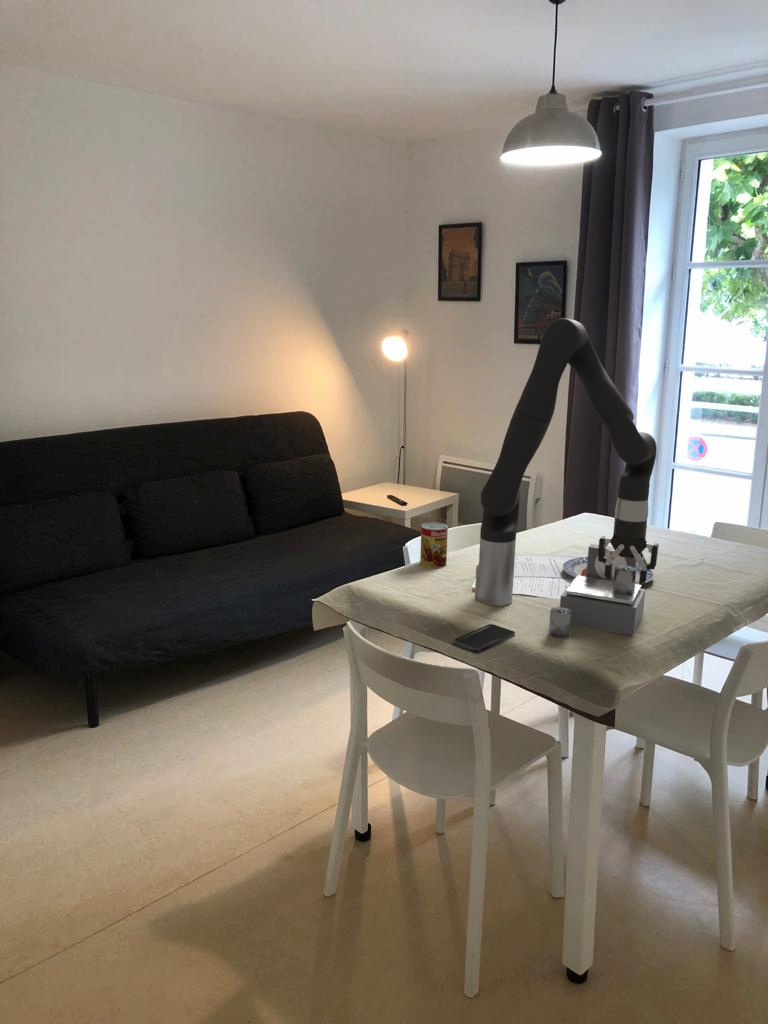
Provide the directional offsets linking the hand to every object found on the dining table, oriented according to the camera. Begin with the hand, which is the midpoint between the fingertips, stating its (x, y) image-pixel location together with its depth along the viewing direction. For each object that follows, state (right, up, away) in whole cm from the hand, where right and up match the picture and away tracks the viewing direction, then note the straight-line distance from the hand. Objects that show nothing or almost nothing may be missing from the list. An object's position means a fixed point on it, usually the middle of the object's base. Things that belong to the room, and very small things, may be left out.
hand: (624, 581), depth 202 cm
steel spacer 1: (-17, -12, -5) cm, 21 cm away
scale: (-4, -10, +7) cm, 12 cm away
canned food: (-44, +1, +46) cm, 64 cm away
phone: (-35, -13, -8) cm, 39 cm away
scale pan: (-4, -3, +4) cm, 6 cm away
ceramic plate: (+6, -2, +39) cm, 39 cm away
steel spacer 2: (0, -3, +1) cm, 3 cm away
